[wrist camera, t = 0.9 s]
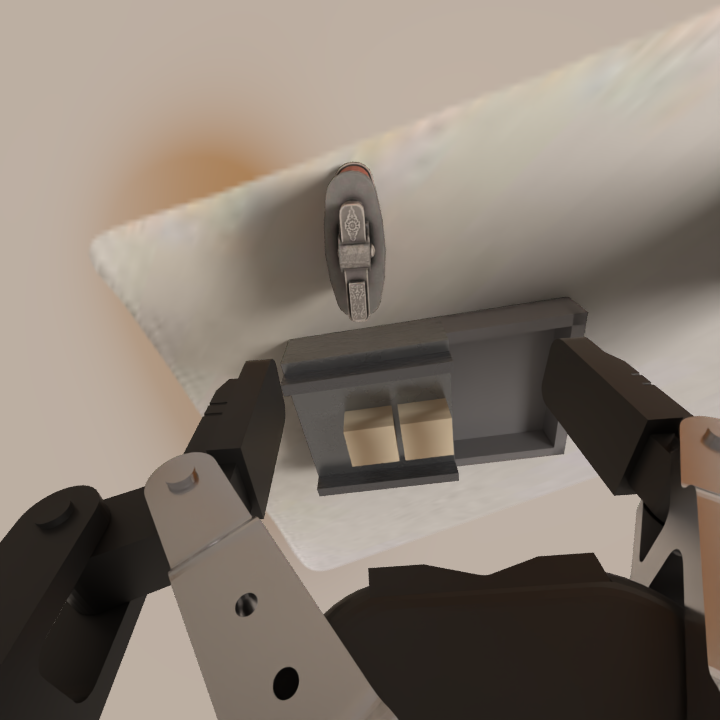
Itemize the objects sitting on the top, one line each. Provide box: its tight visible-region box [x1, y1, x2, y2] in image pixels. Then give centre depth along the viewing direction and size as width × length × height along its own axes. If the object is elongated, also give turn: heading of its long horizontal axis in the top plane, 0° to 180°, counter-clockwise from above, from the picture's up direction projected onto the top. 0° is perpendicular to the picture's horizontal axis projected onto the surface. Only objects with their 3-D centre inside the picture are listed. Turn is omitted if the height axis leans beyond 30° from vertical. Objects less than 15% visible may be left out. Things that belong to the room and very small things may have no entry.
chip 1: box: [343, 405, 399, 467], centre depth 31 cm, size 4×4×2 cm
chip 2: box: [397, 398, 454, 460], centre depth 30 cm, size 4×4×2 cm
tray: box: [439, 297, 588, 466], centre depth 33 cm, size 10×15×3 cm
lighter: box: [324, 162, 386, 322], centre depth 23 cm, size 8×3×10 cm, turn 4°
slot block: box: [281, 317, 459, 496], centre depth 33 cm, size 13×15×6 cm
